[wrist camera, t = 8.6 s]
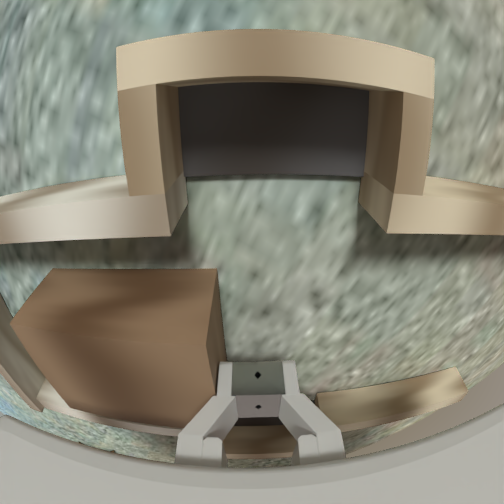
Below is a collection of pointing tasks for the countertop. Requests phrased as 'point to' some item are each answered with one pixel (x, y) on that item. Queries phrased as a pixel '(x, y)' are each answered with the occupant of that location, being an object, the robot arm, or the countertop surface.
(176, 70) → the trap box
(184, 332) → the walnut block
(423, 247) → the countertop surface
